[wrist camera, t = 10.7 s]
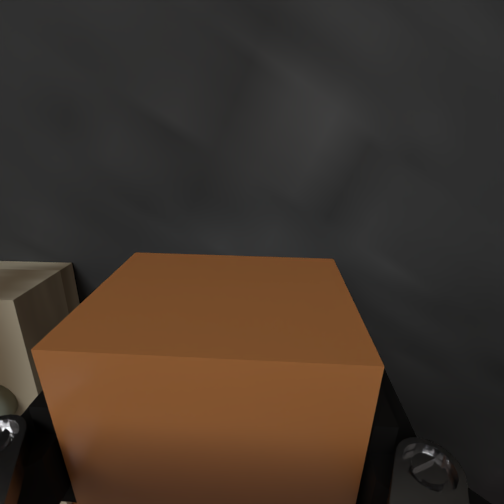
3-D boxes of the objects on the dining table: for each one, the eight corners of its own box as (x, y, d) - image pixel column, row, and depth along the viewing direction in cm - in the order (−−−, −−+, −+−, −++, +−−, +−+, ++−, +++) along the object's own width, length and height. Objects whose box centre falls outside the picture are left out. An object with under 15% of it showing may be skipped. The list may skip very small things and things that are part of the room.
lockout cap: (333, 258, 10) (384, 366, 6) (316, 409, 13) (341, 570, 8) (135, 252, 11) (30, 349, 6) (155, 400, 13) (91, 551, 8)
